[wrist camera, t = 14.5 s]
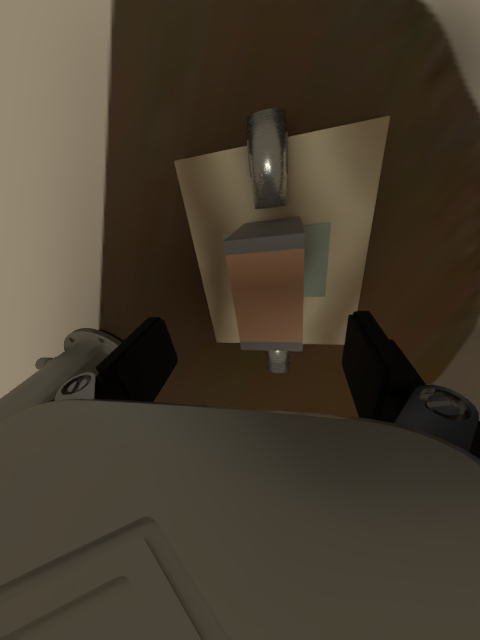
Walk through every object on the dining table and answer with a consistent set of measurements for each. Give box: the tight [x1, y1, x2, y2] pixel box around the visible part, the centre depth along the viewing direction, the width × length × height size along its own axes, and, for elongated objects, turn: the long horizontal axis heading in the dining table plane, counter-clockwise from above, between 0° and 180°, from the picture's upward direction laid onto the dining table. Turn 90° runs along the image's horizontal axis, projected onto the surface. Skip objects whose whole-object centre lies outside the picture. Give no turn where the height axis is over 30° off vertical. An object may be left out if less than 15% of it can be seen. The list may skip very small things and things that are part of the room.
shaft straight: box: [246, 108, 287, 209], centre depth 14 cm, size 2×5×2 cm, turn 8°
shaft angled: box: [266, 350, 290, 373], centre depth 22 cm, size 2×6×4 cm, turn 8°
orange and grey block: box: [223, 217, 305, 351], centre depth 17 cm, size 8×4×7 cm, turn 8°
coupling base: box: [174, 116, 390, 354], centre depth 19 cm, size 15×18×3 cm
